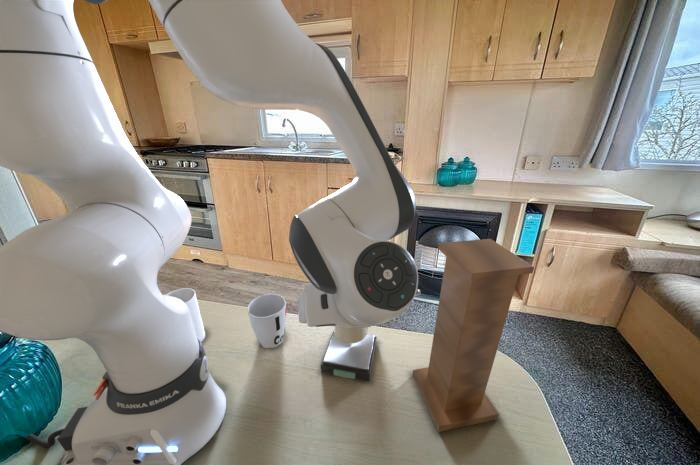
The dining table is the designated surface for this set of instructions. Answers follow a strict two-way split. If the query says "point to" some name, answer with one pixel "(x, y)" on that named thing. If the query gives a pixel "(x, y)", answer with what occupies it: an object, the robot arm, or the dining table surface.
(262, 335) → the cup
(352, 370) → the scale
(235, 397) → the dining table surface
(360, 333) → the cream mug
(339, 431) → the dining table surface
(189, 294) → the mug
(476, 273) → the stand
